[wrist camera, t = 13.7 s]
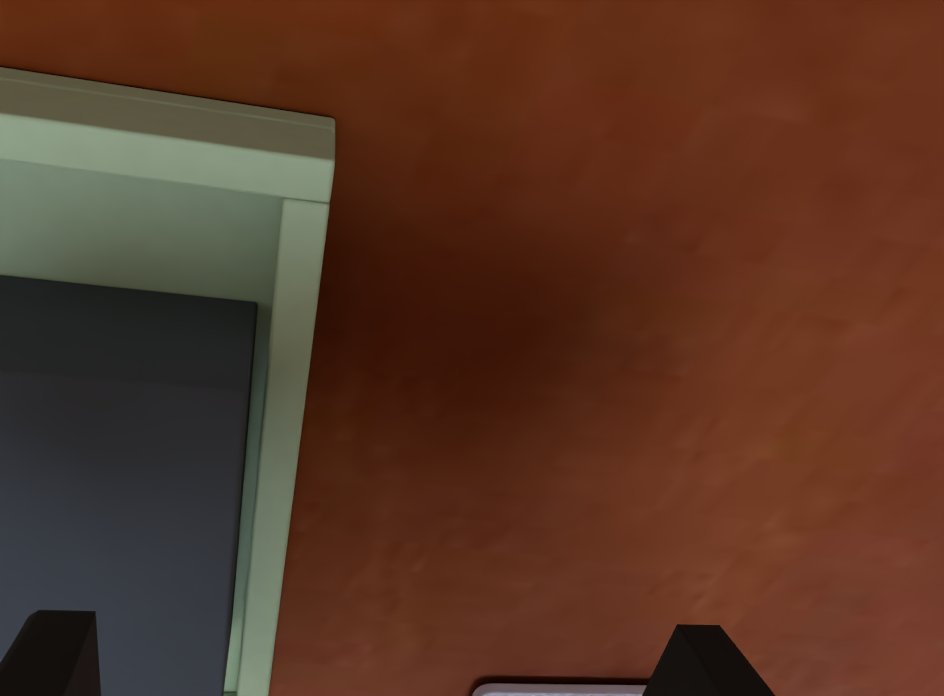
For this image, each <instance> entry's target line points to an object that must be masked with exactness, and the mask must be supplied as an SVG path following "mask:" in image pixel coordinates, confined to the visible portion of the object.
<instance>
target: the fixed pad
mask: <svg viewBox="0 0 944 696" xmlns="http://www.w3.org/2000/svg"><path fill="white" fill-rule="evenodd" d="M257 311H258V305H257V303H256V302H251V301H241V300H232V299H222V298H213V297H203V296H194V295H184V294H175V293H165V292H156V291H146V290H137V289H127V288H118V287H108V286H99V285H89V284H80V283H70V282H61V281H51V280H42V279H32V278H23V277H13V276H4V275H0V662H1V661H2V659H3V658H4V656H5V654H6V653H7V651H8V650H9V648H10V646H11V645H12V643H13V642H14V640H15V638H16V637H17V635H18V633H19V631H20V630H21V628H22V626H23V625H24V623H25V621H26V620H27V618H28V616H30V615H31V614H33V613H34V612H36V611H37V610H70V611H96V624H97V639H98V654H99V670H100V685H101V696H223V694H224V686H225V678H226V669H227V661H228V653H229V644H230V636H231V628H232V618H233V605H234V593H235V581H236V569H237V556H238V544H239V532H240V520H241V507H242V495H243V483H244V471H245V458H246V446H247V434H248V422H249V409H250V397H251V385H252V373H253V360H254V348H255V336H256V324H257Z"/></svg>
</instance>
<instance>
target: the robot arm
mask: <svg viewBox="0 0 944 696" xmlns="http://www.w3.org/2000/svg"><path fill="white" fill-rule="evenodd" d="M0 696H101V685H100V670H99V654H98V639H97V624H96V611H70V610H37V611H36V612H34V613H33V614H31V615H30V616H28V618H27V620H26V621H25V623H24V625H23V626H22V628H21V630H20V631H19V633H18V635H17V637H16V638H15V640H14V642H13V643H12V645H11V646H10V648H9V650H8V651H7V653H6V654H5V656H4V658H3V659H2V661H1V662H0ZM472 696H775V695H774V694H773V692H772V691H771V690H770V688H769V687H768V686H767V685H766V683H765V682H764V681H763V680H762V678H761V677H760V676H759V674H758V673H757V672H756V671H755V669H754V668H753V667H752V666H751V664H750V663H749V662H748V660H747V659H746V658H745V657H744V655H743V654H742V653H741V652H740V650H739V649H738V648H737V647H736V645H735V644H734V643H733V641H732V640H731V639H730V638H729V636H728V635H727V634H726V633H725V632H724V630H723V629H722V628H721V627H720V625H681V624H677V626H676V628H675V630H674V632H673V634H672V636H671V638H670V640H669V642H668V644H667V646H666V648H665V650H664V652H663V654H662V656H661V658H660V660H659V662H658V664H657V666H656V668H655V670H654V672H653V674H652V676H651V678H650V680H649V682H648V684H647V685H588V684H511V683H489V684H484V685H481V686H480V687H478V688H477V689H476V690H475V691H474V693H473V695H472Z"/></svg>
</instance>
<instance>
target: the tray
mask: <svg viewBox="0 0 944 696" xmlns="http://www.w3.org/2000/svg"><path fill="white" fill-rule="evenodd" d="M334 168H335V120H334V119H333V118H329V117H323V116H316V115H310V114H303V113H297V112H290V111H284V110H277V109H271V108H264V107H258V106H251V105H245V104H238V103H231V102H225V101H218V100H212V99H205V98H199V97H192V96H186V95H179V94H173V93H166V92H160V91H153V90H147V89H140V88H133V87H127V86H120V85H114V84H107V83H101V82H94V81H88V80H81V79H75V78H68V77H62V76H55V75H49V74H42V73H35V72H29V71H22V70H16V69H9V68H3V67H0V275H4V276H13V277H23V278H32V279H42V280H51V281H61V282H70V283H80V284H89V285H99V286H108V287H118V288H127V289H137V290H146V291H156V292H165V293H175V294H184V295H194V296H203V297H213V298H222V299H232V300H241V301H251V302H256V303H257V305H258V311H257V324H256V336H255V348H254V360H253V373H252V385H251V397H250V409H249V422H248V434H247V446H246V458H245V471H244V483H243V495H242V507H241V520H240V532H239V544H238V556H237V569H236V581H235V593H234V605H233V618H232V628H231V636H230V644H229V653H228V661H227V669H226V678H225V686H224V694H223V696H268V694H269V686H270V678H271V670H272V662H273V654H274V646H275V638H276V630H277V622H278V614H279V606H280V598H281V591H282V583H283V575H284V567H285V559H286V551H287V543H288V535H289V527H290V519H291V511H292V503H293V495H294V487H295V479H296V471H297V463H298V455H299V447H300V439H301V431H302V423H303V415H304V407H305V399H306V391H307V383H308V375H309V367H310V359H311V351H312V343H313V335H314V327H315V319H316V311H317V303H318V295H319V287H320V279H321V271H322V264H323V256H324V248H325V240H326V232H327V224H328V216H329V207H330V199H331V192H332V184H333V176H334Z"/></svg>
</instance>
